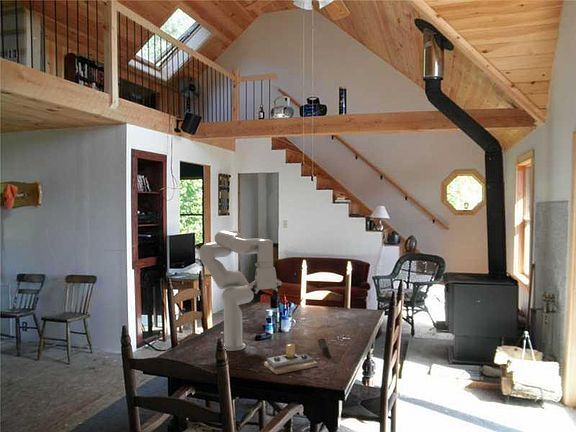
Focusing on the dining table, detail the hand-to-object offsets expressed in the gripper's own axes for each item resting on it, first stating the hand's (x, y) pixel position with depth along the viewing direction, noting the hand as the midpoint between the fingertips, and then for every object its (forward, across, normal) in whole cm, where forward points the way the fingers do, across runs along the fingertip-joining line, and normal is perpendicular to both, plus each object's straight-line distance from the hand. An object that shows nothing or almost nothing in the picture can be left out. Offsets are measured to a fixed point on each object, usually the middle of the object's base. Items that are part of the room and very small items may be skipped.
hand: (265, 300), depth 206 cm
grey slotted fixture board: (+27, +6, -14) cm, 31 cm away
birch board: (+28, +6, -14) cm, 32 cm away
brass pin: (+27, +6, -14) cm, 31 cm away
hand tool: (+29, +31, -4) cm, 43 cm away
